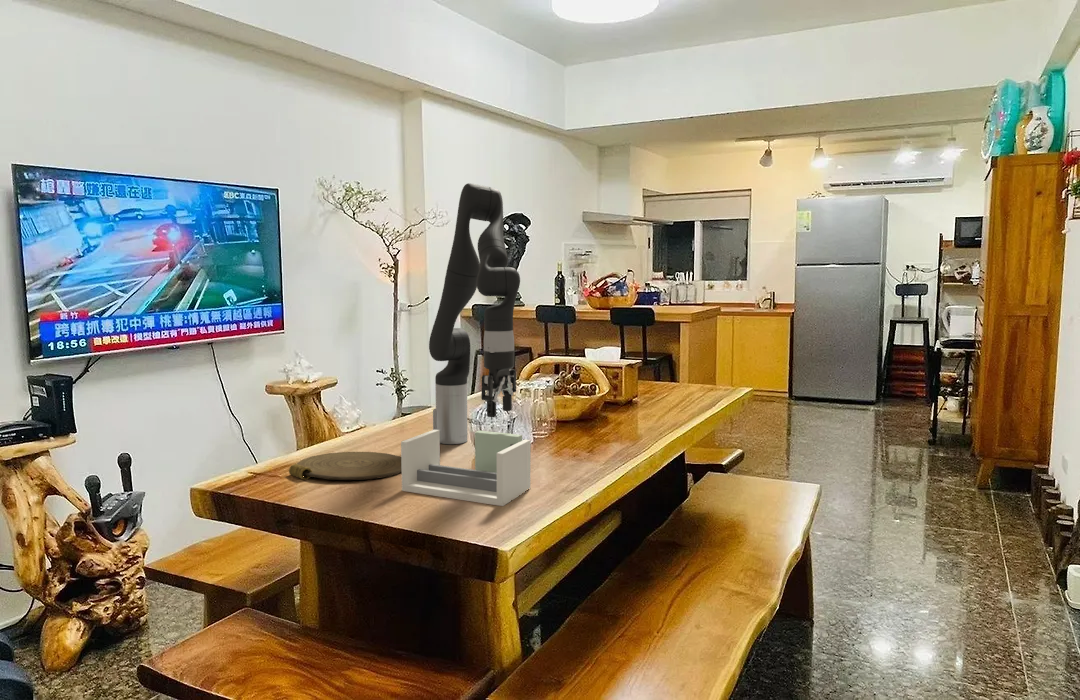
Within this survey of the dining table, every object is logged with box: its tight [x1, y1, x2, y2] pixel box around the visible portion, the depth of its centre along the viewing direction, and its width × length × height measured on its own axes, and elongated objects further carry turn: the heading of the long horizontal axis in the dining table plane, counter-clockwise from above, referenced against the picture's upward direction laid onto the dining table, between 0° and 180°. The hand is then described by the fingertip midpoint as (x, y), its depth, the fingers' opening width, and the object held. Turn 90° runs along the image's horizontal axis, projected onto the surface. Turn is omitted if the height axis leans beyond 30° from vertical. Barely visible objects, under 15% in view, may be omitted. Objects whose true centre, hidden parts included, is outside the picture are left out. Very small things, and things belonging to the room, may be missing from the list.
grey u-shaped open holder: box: [400, 429, 532, 507], centre depth 171 cm, size 26×14×12 cm, turn 66°
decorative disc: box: [288, 451, 402, 481], centre depth 190 cm, size 29×3×30 cm
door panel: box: [474, 430, 523, 473], centre depth 186 cm, size 12×3×10 cm, turn 66°
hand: (499, 413), depth 185 cm, fingers open, 8 cm apart
